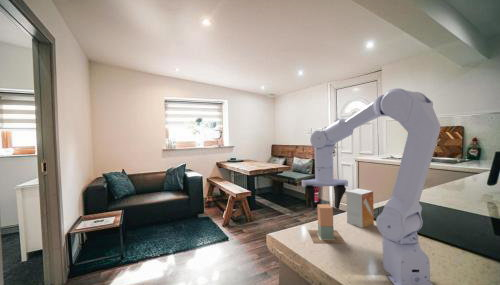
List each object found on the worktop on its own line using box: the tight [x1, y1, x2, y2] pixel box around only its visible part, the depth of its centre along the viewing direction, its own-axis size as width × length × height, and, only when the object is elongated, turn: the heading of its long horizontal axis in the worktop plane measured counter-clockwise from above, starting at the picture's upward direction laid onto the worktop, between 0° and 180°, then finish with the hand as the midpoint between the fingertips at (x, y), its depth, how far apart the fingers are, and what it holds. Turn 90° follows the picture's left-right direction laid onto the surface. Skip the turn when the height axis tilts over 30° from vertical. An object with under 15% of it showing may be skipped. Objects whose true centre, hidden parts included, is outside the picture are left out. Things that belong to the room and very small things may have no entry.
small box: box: [345, 188, 375, 229], centre depth 82 cm, size 8×6×13 cm
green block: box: [317, 222, 334, 239], centre depth 71 cm, size 4×4×4 cm
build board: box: [307, 229, 347, 245], centre depth 71 cm, size 10×10×1 cm
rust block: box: [316, 203, 334, 228], centre depth 71 cm, size 4×4×6 cm
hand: (325, 208), depth 71 cm, fingers open, 7 cm apart
